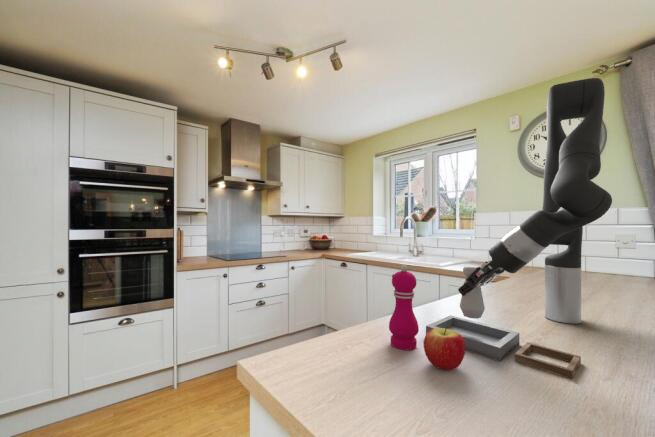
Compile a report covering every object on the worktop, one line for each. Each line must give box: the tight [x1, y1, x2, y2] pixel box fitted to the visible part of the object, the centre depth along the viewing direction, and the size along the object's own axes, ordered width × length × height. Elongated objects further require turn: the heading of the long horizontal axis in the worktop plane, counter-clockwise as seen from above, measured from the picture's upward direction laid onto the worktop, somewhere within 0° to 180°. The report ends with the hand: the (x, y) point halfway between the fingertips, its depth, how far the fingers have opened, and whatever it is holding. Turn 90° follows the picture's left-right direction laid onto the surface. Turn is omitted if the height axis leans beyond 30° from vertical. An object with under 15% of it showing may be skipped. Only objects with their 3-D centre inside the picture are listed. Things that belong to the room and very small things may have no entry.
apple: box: [423, 322, 466, 371], centre depth 62 cm, size 8×8×10 cm
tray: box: [425, 315, 520, 362], centre depth 76 cm, size 14×18×3 cm
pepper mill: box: [388, 264, 420, 351], centre depth 73 cm, size 7×7×20 cm
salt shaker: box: [459, 265, 486, 319], centre depth 76 cm, size 6×6×13 cm
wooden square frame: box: [514, 341, 582, 379], centre depth 65 cm, size 10×10×2 cm
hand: (464, 291), depth 78 cm, fingers closed on salt shaker, 3 cm apart
